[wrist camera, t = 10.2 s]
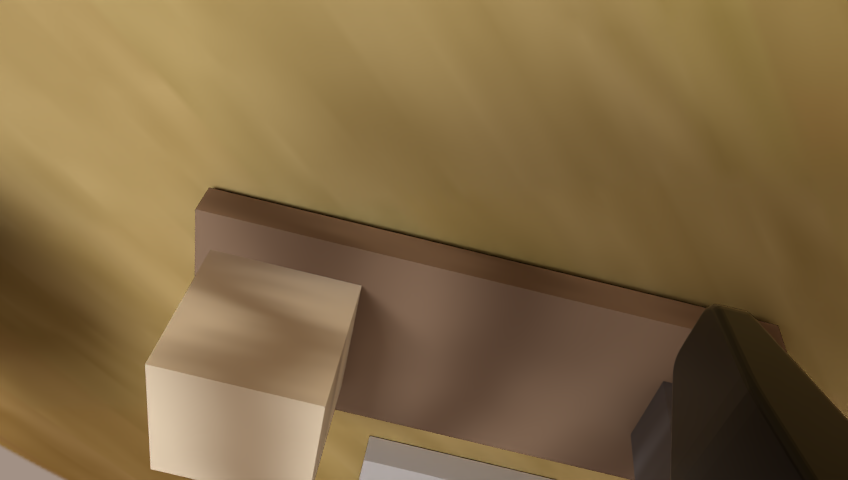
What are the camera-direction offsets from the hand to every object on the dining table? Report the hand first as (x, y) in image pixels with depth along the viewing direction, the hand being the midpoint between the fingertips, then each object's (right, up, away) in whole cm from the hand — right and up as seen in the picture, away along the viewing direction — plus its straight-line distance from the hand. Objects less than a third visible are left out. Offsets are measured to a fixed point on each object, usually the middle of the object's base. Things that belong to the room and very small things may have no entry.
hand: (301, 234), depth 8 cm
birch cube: (-4, -3, +18) cm, 18 cm away
